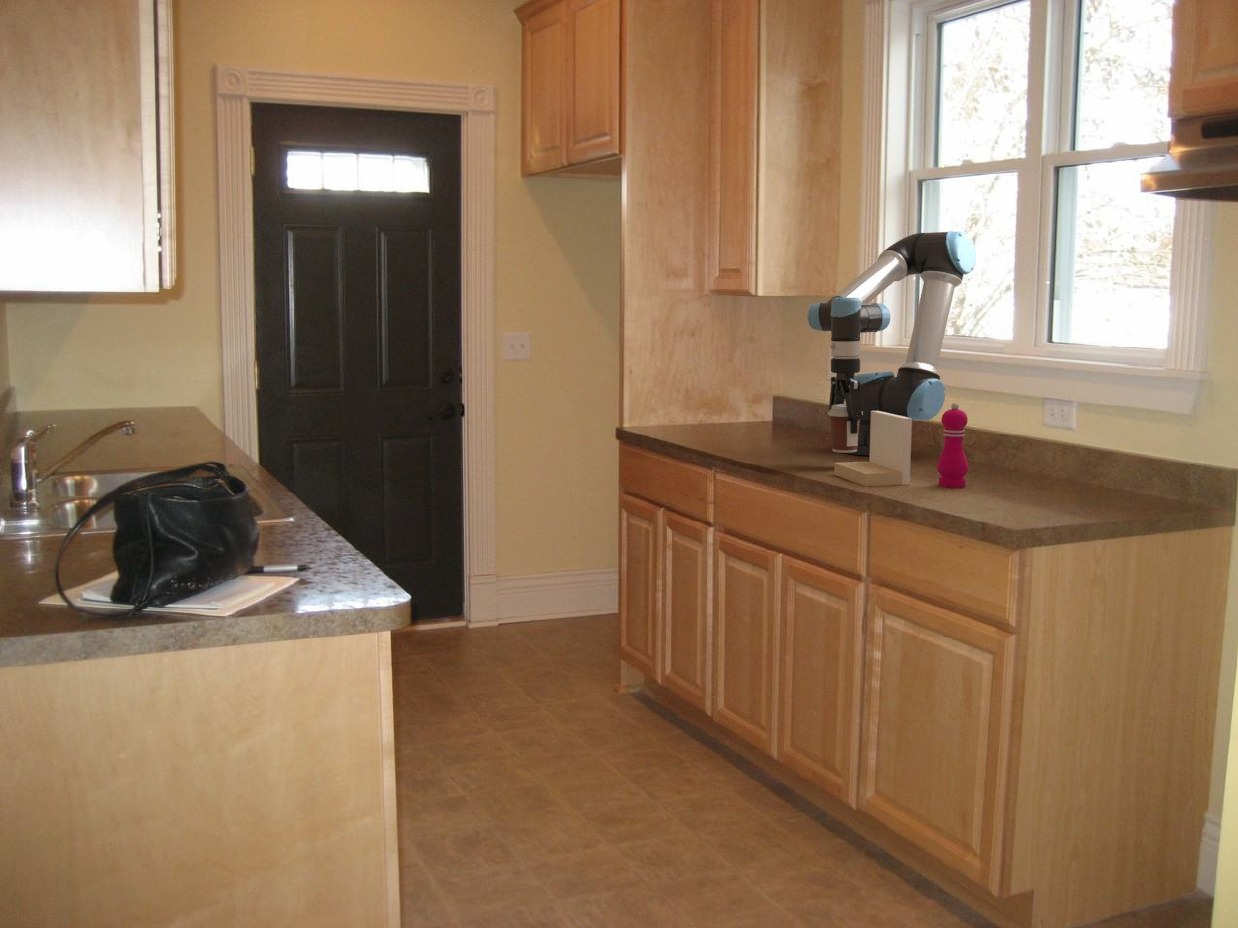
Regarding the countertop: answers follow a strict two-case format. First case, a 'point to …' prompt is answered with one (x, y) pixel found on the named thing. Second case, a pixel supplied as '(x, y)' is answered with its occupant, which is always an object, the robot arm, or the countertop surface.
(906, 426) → the board
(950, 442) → the pepper mill
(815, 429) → the countertop surface
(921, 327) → the robot arm
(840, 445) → the coffee cup
